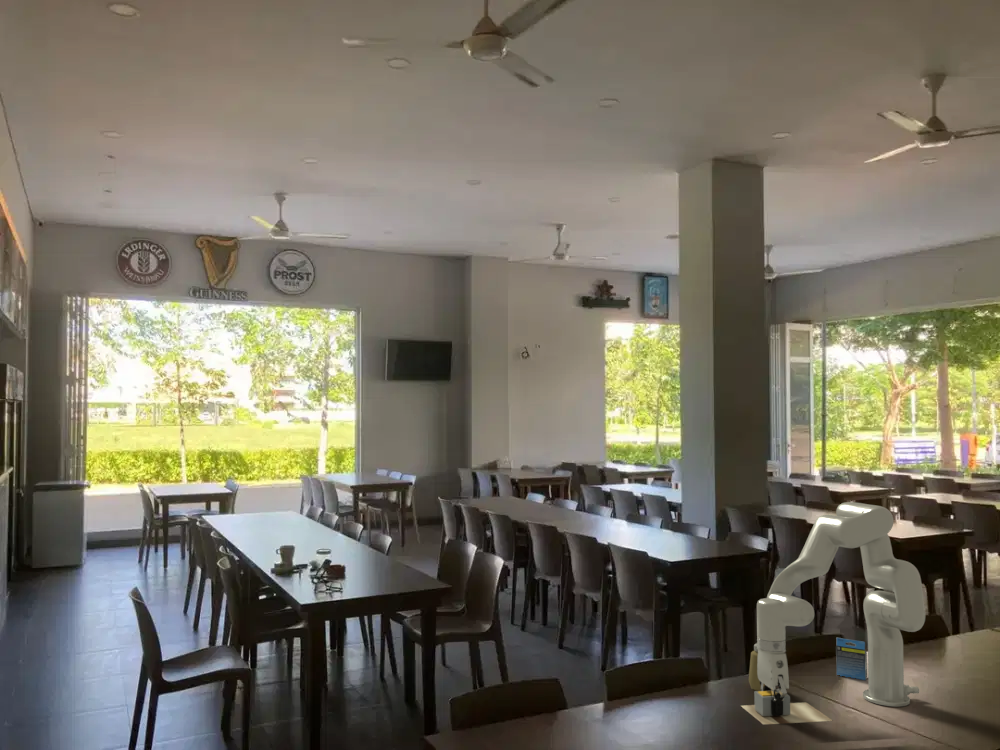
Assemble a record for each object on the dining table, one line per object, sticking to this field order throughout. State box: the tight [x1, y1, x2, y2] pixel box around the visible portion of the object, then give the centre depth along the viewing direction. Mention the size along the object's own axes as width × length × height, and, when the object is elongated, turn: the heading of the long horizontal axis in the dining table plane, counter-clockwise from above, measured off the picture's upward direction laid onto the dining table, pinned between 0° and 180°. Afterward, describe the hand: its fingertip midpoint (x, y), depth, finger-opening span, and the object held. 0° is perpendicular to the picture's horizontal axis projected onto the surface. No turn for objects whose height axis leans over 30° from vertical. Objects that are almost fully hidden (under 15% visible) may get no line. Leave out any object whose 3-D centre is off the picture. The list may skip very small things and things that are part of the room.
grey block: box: [753, 690, 791, 716], centre depth 223 cm, size 8×5×5 cm, turn 98°
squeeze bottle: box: [748, 643, 761, 691], centre depth 244 cm, size 8×8×18 cm
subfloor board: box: [740, 702, 833, 726], centre depth 224 cm, size 20×14×2 cm
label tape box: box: [835, 637, 868, 681], centre depth 260 cm, size 9×4×12 cm, turn 57°
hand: (772, 710), depth 223 cm, fingers closed on grey block, 5 cm apart
